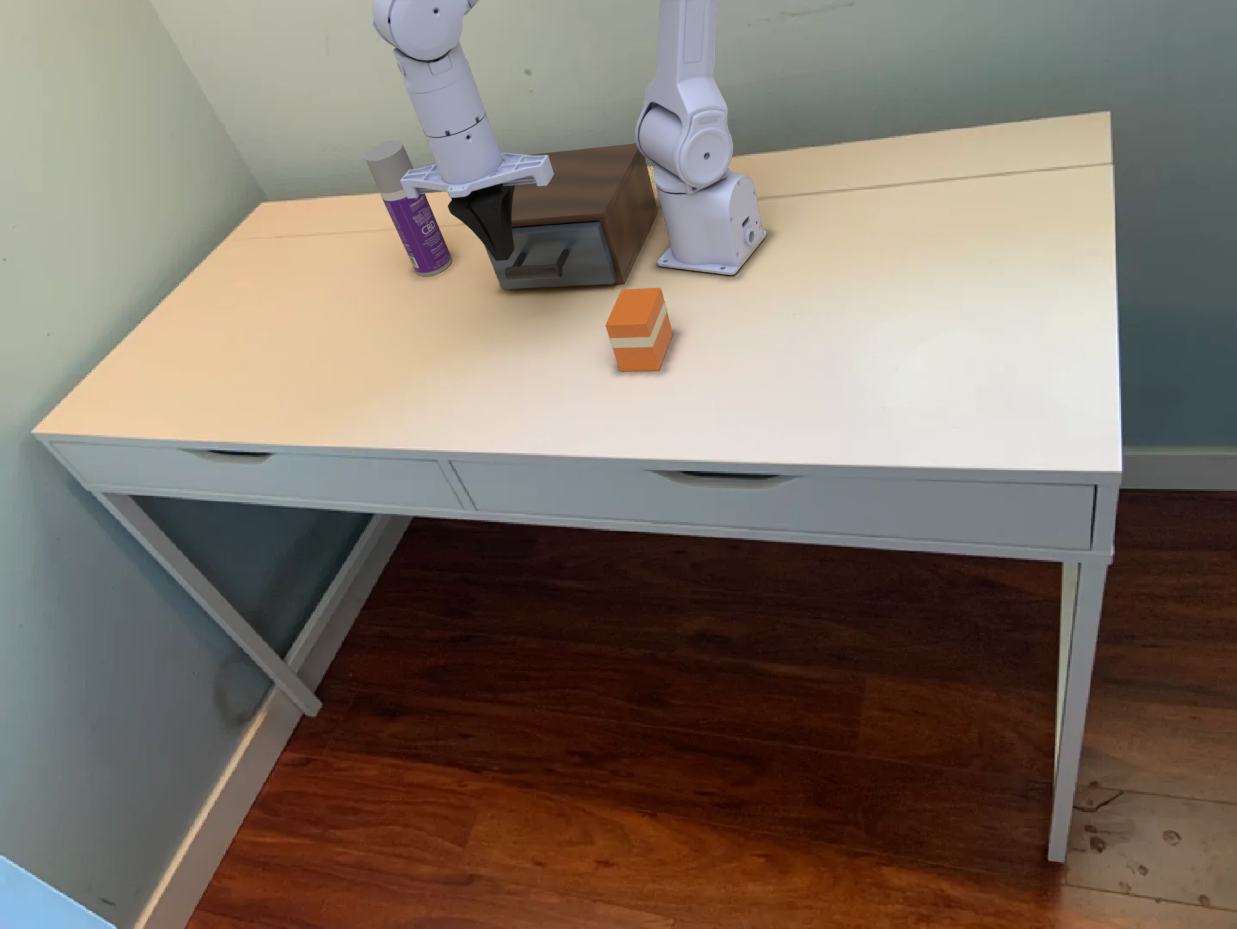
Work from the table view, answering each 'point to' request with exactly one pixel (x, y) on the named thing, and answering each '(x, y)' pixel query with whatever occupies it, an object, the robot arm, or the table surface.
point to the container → (408, 210)
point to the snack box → (639, 329)
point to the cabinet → (594, 199)
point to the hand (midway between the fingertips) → (505, 254)
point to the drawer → (556, 257)
